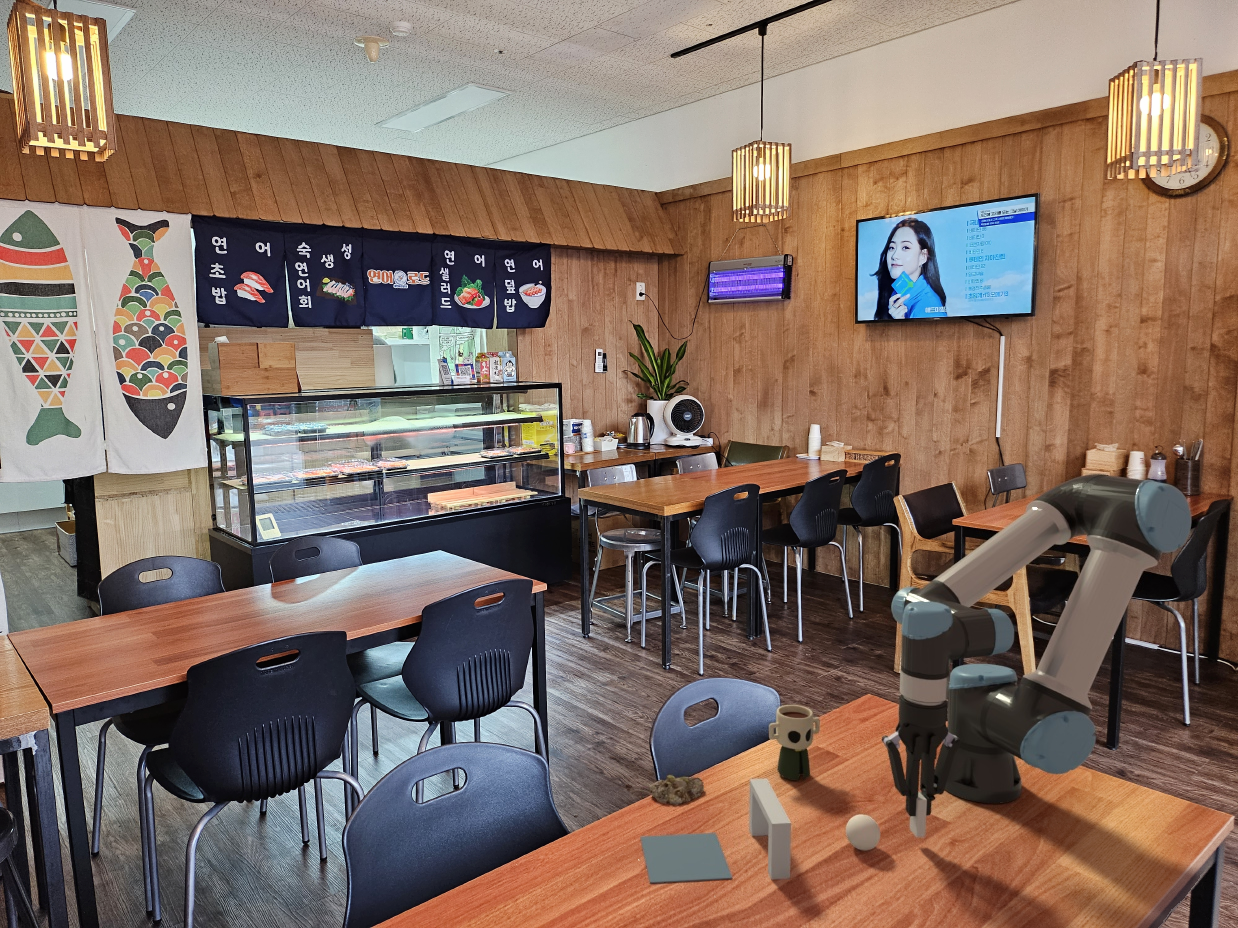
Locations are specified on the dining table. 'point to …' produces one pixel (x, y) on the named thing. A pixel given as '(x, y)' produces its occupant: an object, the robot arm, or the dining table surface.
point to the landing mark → (684, 858)
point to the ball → (863, 832)
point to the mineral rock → (676, 789)
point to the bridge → (770, 826)
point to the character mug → (794, 739)
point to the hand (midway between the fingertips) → (917, 832)
